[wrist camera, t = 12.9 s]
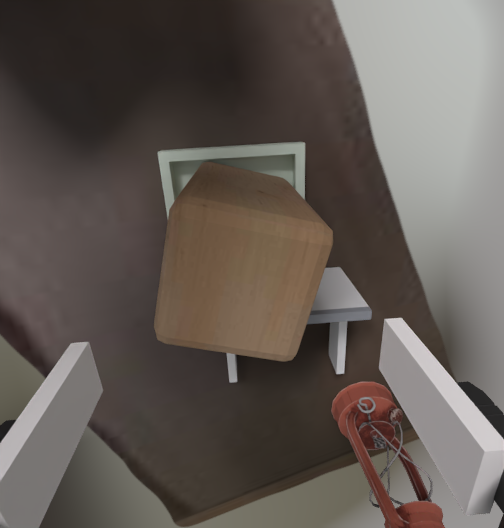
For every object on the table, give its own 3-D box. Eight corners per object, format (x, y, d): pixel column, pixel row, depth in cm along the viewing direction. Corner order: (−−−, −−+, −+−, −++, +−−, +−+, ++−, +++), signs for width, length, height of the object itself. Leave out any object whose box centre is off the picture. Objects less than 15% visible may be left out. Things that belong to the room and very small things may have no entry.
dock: (221, 275, 43) (217, 322, 33) (339, 267, 43) (371, 310, 33) (229, 362, 48) (229, 425, 38) (335, 354, 49) (362, 414, 39)
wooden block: (290, 178, 38) (343, 232, 20) (268, 260, 42) (297, 369, 23) (200, 158, 37) (168, 196, 18) (186, 244, 41) (148, 347, 22)
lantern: (328, 430, 54) (427, 752, 27) (333, 379, 50) (454, 694, 23) (389, 427, 55) (548, 740, 27) (398, 375, 51) (596, 682, 23)
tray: (162, 150, 37) (157, 152, 35) (300, 141, 37) (305, 142, 35) (180, 276, 43) (177, 285, 40) (300, 267, 43) (304, 276, 41)
